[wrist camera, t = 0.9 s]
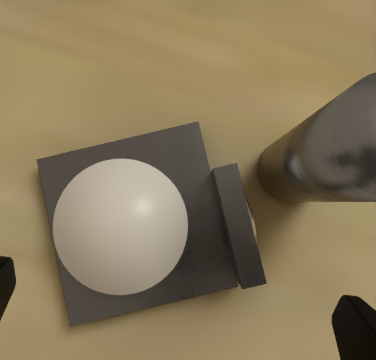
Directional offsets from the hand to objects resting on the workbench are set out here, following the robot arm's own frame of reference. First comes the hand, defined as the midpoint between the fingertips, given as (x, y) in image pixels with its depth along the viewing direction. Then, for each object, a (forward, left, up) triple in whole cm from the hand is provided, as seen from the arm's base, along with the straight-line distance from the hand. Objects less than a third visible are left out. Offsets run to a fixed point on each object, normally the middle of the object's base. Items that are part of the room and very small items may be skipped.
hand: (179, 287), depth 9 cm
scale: (+2, +3, -13) cm, 14 cm away
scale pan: (+2, +4, -12) cm, 13 cm away
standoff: (+3, -8, -14) cm, 16 cm away
